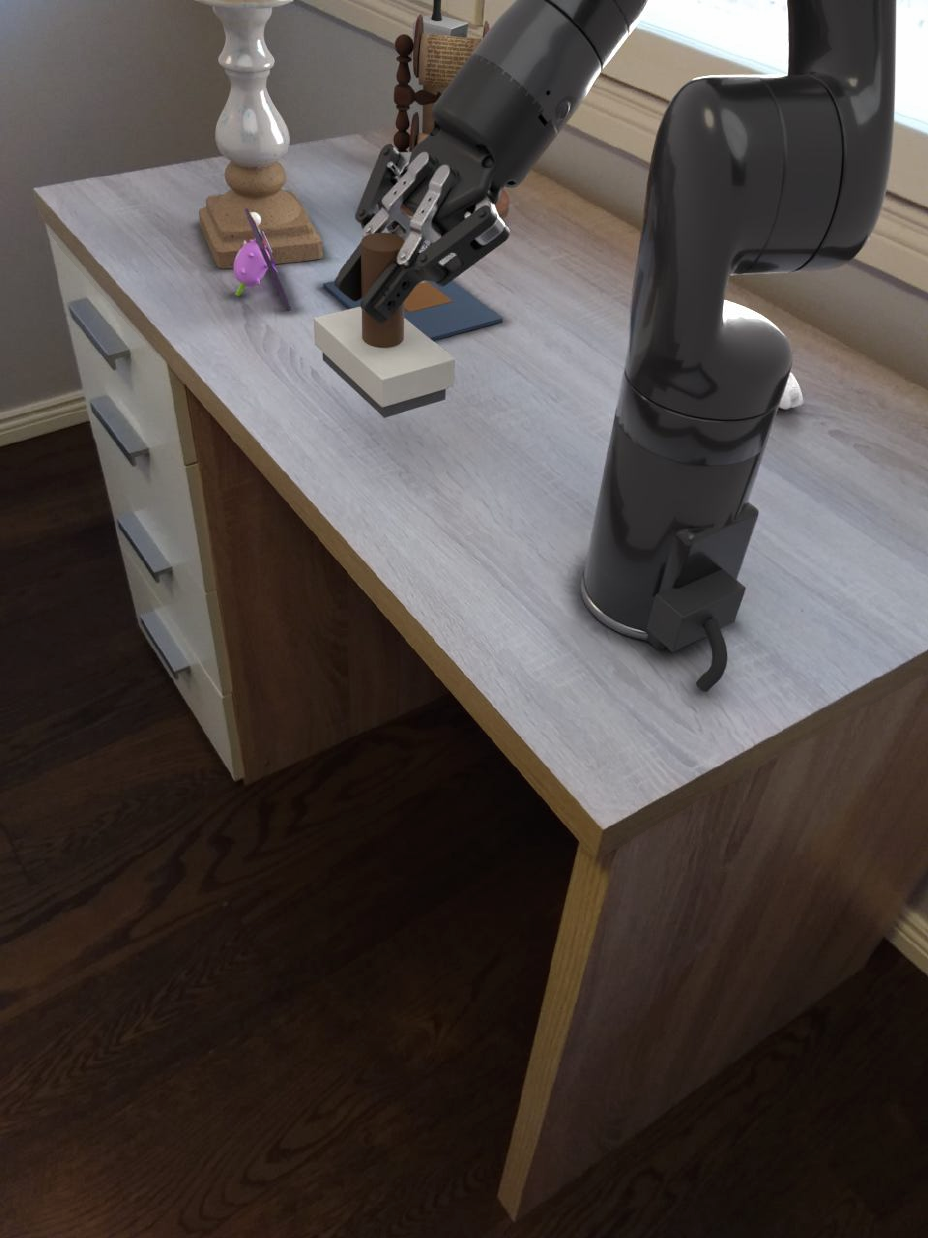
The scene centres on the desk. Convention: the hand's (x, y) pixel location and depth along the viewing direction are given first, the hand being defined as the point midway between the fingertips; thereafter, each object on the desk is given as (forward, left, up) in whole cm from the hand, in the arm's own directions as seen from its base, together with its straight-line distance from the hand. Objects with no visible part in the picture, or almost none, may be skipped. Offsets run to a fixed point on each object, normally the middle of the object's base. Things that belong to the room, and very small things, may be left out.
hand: (358, 303), depth 70 cm
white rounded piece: (-8, -38, -14) cm, 41 cm away
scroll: (+37, -32, -14) cm, 51 cm away
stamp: (0, -2, -6) cm, 7 cm away
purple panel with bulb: (+30, -6, -14) cm, 34 cm away
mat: (+21, -18, -14) cm, 31 cm away
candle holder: (+40, -11, -14) cm, 44 cm away
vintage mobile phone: (+48, -38, -14) cm, 63 cm away
